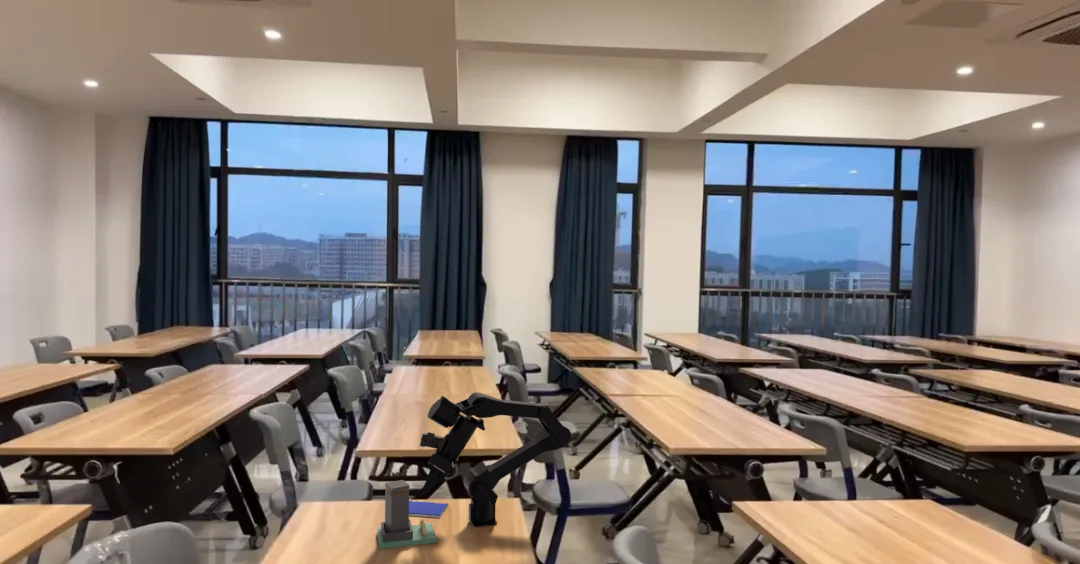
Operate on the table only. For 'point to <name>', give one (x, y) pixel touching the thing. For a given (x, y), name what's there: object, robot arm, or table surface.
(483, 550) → the table surface
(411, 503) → the hard drive
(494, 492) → the robot arm
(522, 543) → the table surface
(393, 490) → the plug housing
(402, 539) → the header board
